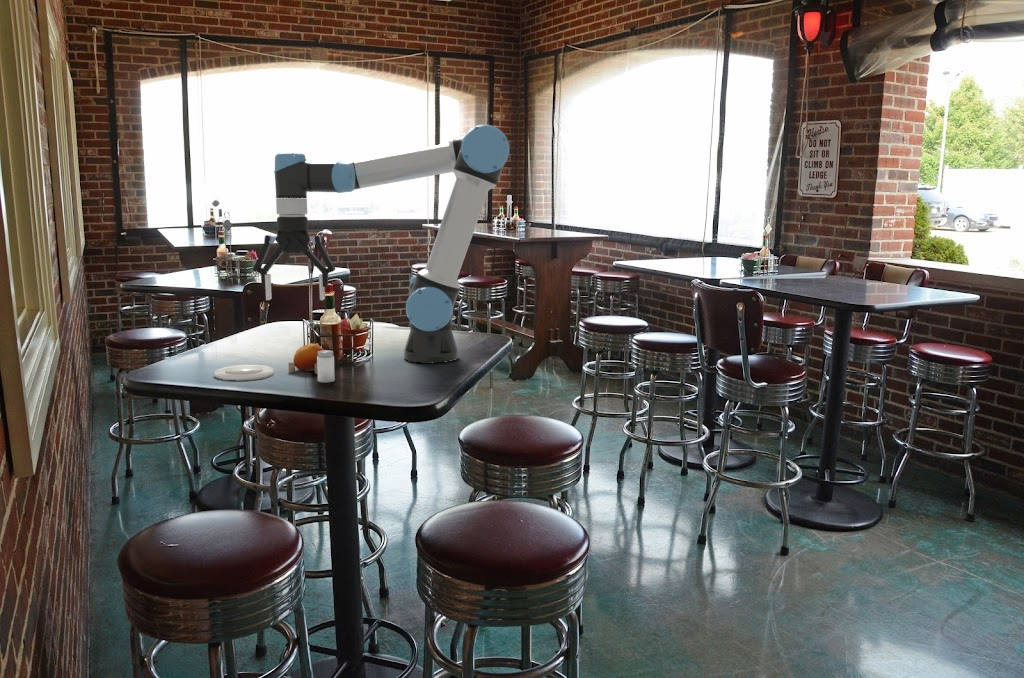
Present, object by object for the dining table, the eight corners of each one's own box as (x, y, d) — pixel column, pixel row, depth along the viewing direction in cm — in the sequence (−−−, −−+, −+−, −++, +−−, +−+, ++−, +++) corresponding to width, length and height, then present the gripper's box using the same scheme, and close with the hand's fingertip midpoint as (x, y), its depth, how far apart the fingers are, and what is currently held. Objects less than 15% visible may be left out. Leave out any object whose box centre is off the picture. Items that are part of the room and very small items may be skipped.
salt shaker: (336, 379, 200) (336, 350, 199) (331, 382, 196) (330, 353, 195) (320, 378, 200) (320, 349, 199) (315, 382, 196) (314, 352, 195)
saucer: (281, 369, 209) (281, 364, 209) (260, 381, 196) (259, 376, 195) (229, 367, 210) (229, 362, 210) (204, 379, 197) (204, 373, 197)
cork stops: (330, 367, 213) (330, 357, 213) (320, 373, 205) (319, 364, 205) (299, 365, 214) (299, 356, 214) (287, 372, 206) (287, 363, 205)
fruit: (324, 369, 204) (308, 341, 204) (299, 383, 206) (283, 355, 206) (337, 362, 212) (321, 336, 212) (313, 376, 214) (298, 350, 214)
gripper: (344, 215, 208) (347, 297, 212) (246, 215, 208) (250, 297, 211) (339, 216, 201) (342, 301, 205) (237, 216, 200) (242, 301, 204)
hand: (295, 299), depth 208 cm, fingers open, 13 cm apart
